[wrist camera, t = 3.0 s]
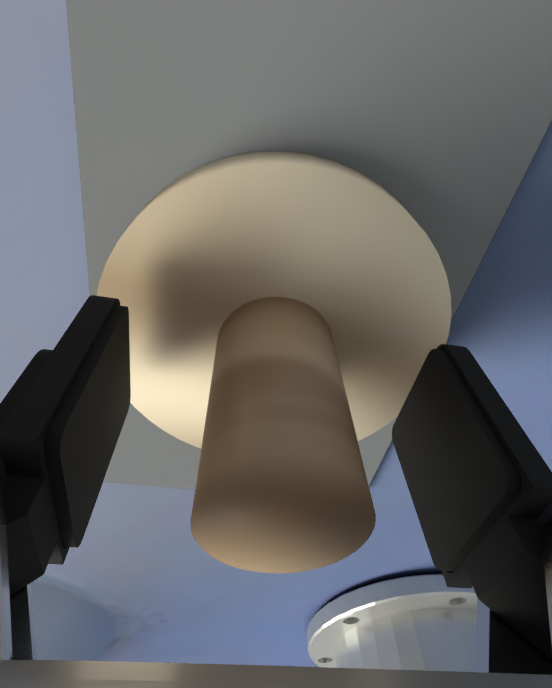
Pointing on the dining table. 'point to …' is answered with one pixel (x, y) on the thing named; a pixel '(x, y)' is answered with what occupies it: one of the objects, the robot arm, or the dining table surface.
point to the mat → (307, 124)
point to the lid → (277, 344)
